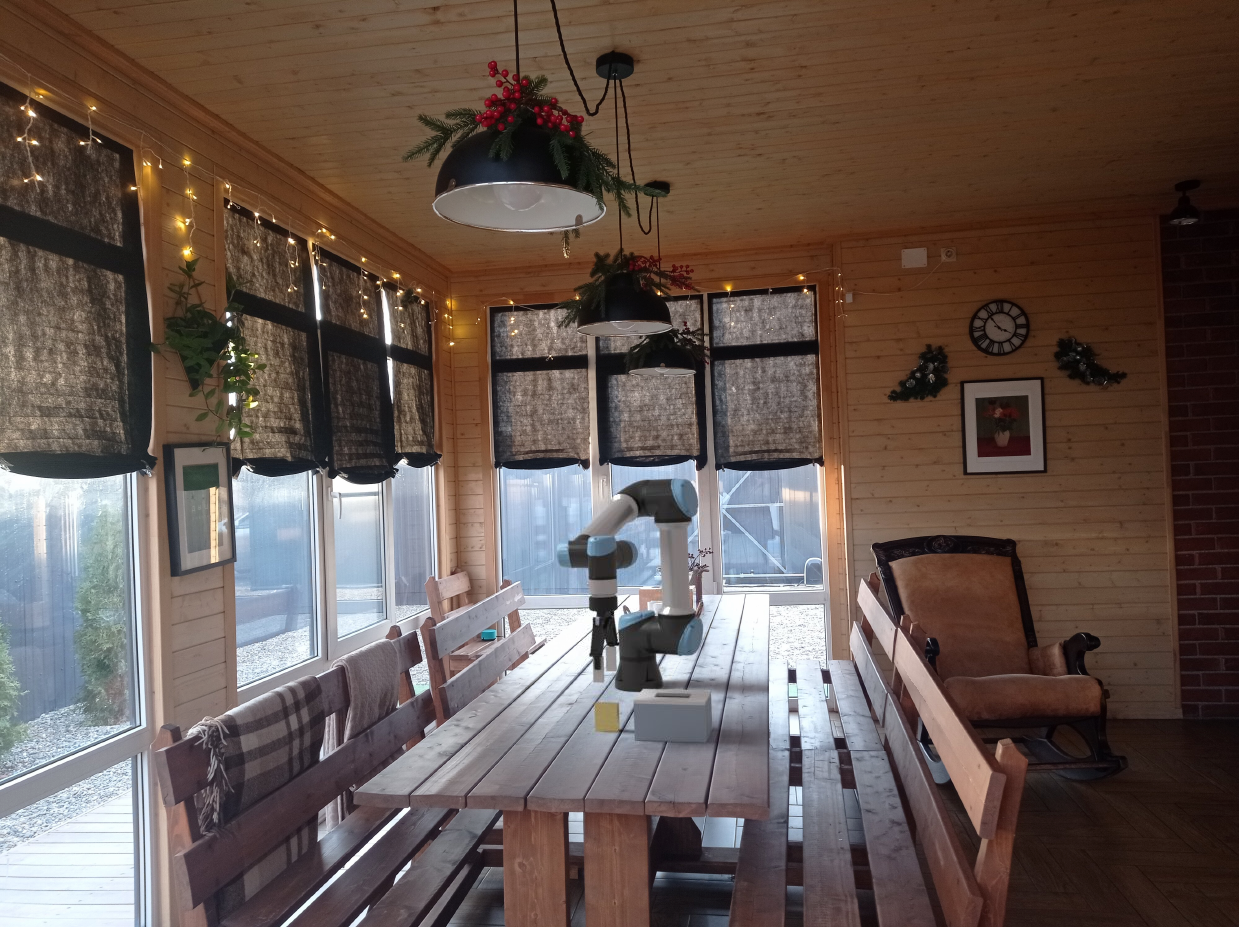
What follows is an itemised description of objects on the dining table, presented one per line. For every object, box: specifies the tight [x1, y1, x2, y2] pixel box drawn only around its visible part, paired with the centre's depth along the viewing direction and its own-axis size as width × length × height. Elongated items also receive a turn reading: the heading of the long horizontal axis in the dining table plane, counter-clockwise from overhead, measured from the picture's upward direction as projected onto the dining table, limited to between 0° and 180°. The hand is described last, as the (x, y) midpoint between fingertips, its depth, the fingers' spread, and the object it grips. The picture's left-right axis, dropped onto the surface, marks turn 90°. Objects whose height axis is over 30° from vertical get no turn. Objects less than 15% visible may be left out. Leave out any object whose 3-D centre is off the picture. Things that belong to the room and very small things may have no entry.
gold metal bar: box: [593, 701, 621, 733], centre depth 240 cm, size 2×6×7 cm, turn 77°
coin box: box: [632, 688, 713, 744], centre depth 234 cm, size 12×18×10 cm, turn 77°
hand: (605, 676), depth 240 cm, fingers open, 13 cm apart
